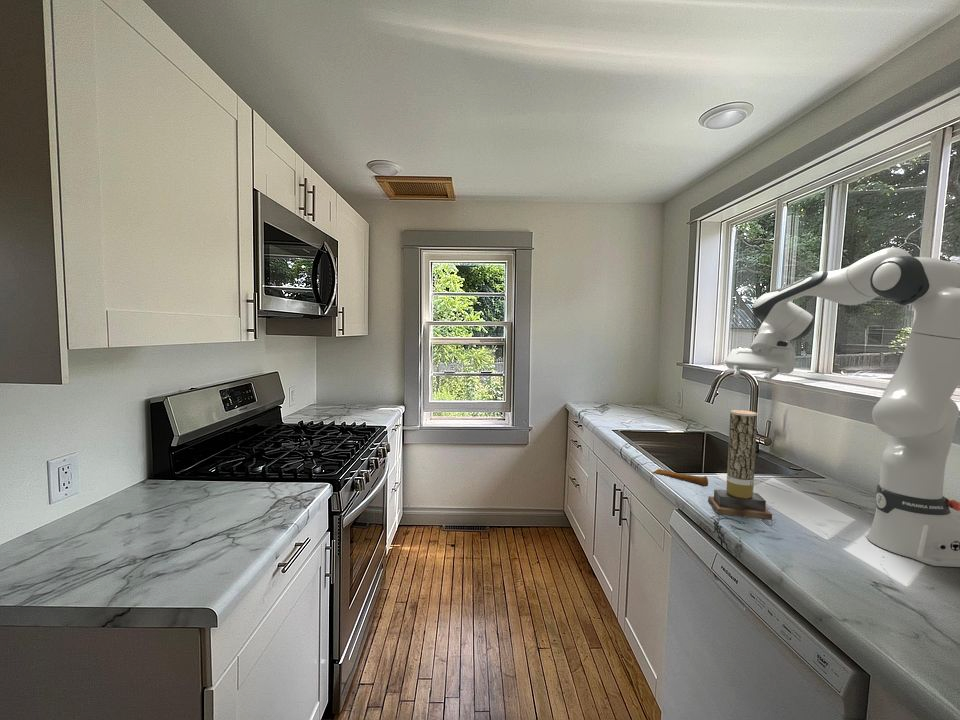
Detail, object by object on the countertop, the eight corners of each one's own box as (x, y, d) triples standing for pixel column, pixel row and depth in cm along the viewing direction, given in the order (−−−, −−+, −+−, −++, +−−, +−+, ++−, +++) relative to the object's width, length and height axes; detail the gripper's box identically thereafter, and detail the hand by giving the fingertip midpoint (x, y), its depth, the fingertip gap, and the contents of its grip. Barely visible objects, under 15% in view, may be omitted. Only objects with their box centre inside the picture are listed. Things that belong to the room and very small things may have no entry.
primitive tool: (651, 473, 162) (651, 464, 162) (658, 470, 165) (659, 462, 165) (704, 488, 147) (705, 478, 147) (711, 484, 151) (712, 475, 151)
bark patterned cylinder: (730, 498, 125) (734, 413, 124) (723, 490, 132) (727, 409, 130) (756, 500, 124) (761, 415, 122) (747, 492, 130) (752, 410, 129)
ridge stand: (758, 505, 132) (759, 491, 131) (771, 519, 122) (772, 503, 122) (708, 500, 135) (708, 486, 135) (717, 513, 125) (718, 498, 125)
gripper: (731, 341, 156) (716, 369, 151) (797, 343, 140) (783, 375, 135) (735, 353, 159) (721, 380, 154) (801, 356, 143) (788, 388, 138)
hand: (751, 378), depth 144 cm, fingers open, 8 cm apart
